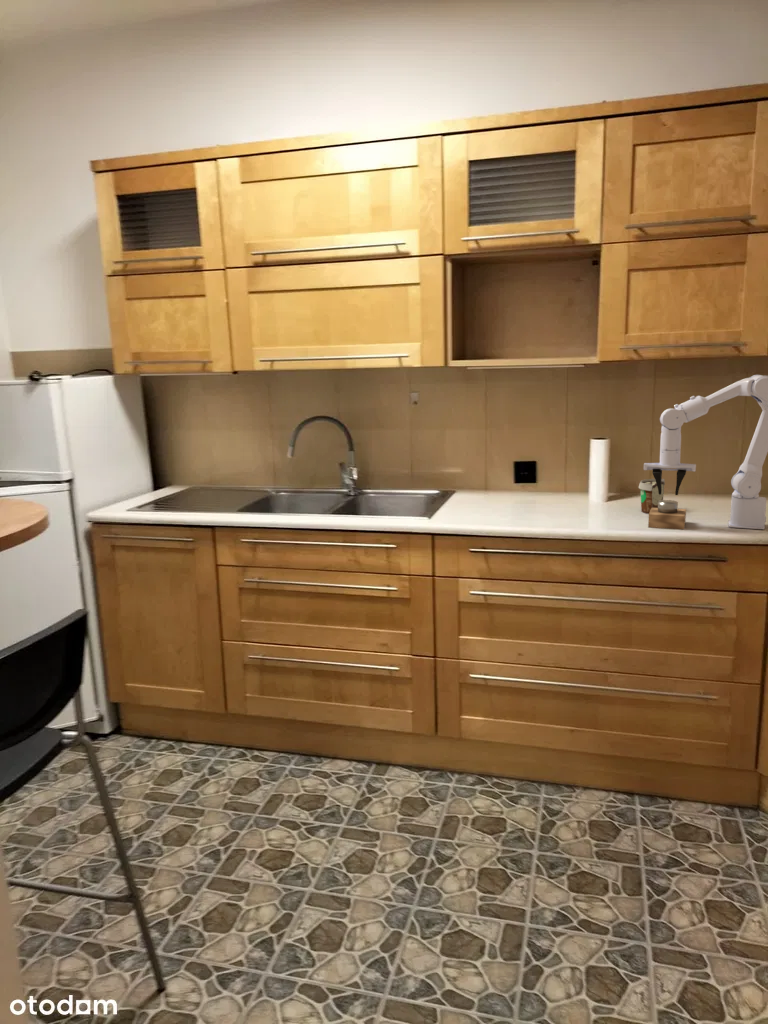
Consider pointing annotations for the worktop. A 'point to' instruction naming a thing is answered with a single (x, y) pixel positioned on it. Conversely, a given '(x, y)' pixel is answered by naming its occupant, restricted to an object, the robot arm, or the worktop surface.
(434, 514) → the worktop surface
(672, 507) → the grey rounded piece
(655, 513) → the block
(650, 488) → the food container
